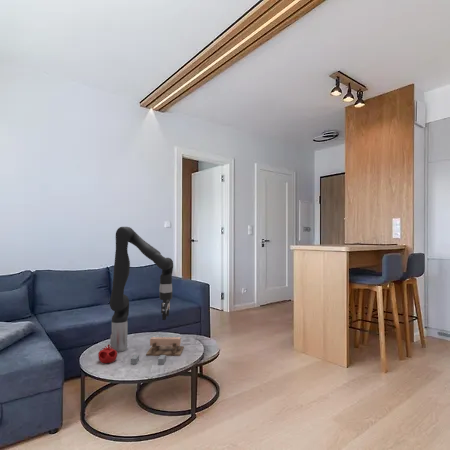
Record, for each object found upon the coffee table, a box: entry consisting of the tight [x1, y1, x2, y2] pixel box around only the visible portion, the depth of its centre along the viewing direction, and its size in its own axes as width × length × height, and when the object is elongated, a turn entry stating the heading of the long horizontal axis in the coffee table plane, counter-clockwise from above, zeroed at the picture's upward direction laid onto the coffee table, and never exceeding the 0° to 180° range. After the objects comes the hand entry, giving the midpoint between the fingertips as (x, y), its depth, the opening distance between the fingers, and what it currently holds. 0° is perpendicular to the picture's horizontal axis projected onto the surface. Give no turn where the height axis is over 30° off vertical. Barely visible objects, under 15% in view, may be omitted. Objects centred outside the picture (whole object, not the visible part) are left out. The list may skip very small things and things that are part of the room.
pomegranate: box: [97, 344, 118, 364], centre depth 188 cm, size 10×10×9 cm
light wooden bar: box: [149, 336, 182, 347], centre depth 203 cm, size 18×4×4 cm, turn 89°
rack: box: [145, 343, 185, 357], centre depth 203 cm, size 20×14×6 cm
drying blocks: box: [130, 354, 167, 366], centre depth 186 cm, size 18×6×3 cm, turn 88°
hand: (165, 318), depth 204 cm, fingers open, 8 cm apart
